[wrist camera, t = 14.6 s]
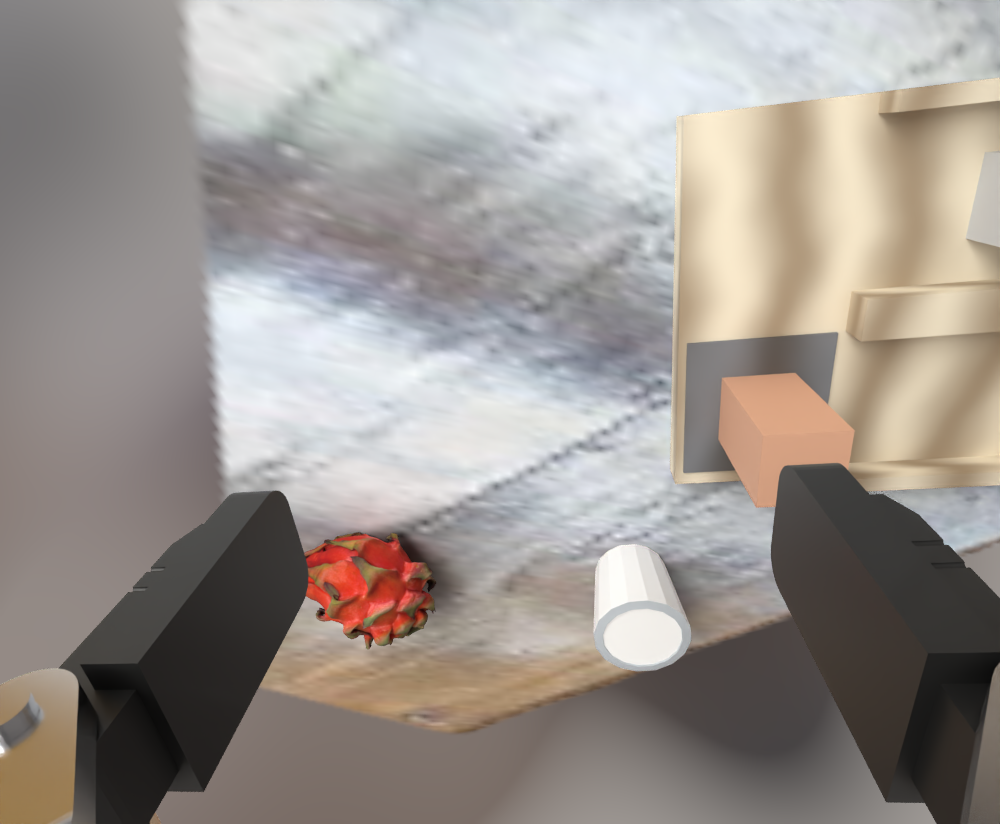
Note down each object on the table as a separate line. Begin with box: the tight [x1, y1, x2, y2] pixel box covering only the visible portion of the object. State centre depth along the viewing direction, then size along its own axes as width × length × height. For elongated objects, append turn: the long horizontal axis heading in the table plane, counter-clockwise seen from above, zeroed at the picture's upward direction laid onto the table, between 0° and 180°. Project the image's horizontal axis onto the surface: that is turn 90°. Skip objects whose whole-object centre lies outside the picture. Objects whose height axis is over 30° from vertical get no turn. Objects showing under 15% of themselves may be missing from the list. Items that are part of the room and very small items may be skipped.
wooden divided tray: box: [670, 78, 1000, 491], centre depth 35 cm, size 24×24×5 cm
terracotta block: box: [718, 373, 855, 507], centre depth 35 cm, size 4×4×8 cm
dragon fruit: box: [304, 532, 436, 649], centre depth 46 cm, size 8×8×12 cm
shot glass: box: [594, 544, 691, 671], centre depth 44 cm, size 7×7×7 cm
